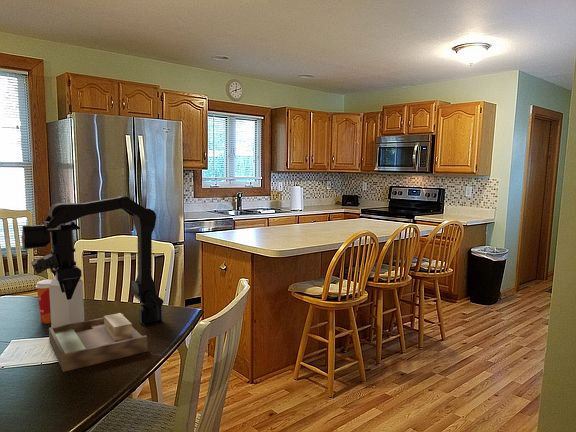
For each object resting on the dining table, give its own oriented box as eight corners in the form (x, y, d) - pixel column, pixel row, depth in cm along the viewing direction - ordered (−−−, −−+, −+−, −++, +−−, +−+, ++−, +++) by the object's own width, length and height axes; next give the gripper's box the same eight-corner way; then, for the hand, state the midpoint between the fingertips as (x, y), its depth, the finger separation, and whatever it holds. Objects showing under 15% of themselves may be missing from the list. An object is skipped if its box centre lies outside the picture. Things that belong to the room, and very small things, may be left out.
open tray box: (123, 326, 143) (123, 313, 143) (147, 351, 124) (147, 336, 123) (49, 342, 130) (48, 327, 130) (63, 371, 111) (62, 355, 110)
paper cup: (44, 317, 152) (42, 278, 151) (66, 316, 153) (64, 278, 151) (33, 325, 144) (30, 284, 143) (56, 324, 145) (54, 284, 144)
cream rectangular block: (120, 325, 136) (120, 312, 136) (132, 336, 127) (131, 323, 126) (104, 328, 134) (103, 315, 133) (114, 340, 124) (114, 327, 124)
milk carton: (70, 331, 139) (67, 274, 137) (51, 329, 140) (48, 273, 138) (84, 323, 146) (82, 269, 144) (66, 322, 147) (63, 268, 145)
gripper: (28, 243, 131) (32, 293, 133) (35, 253, 116) (39, 309, 118) (68, 240, 137) (71, 287, 139) (80, 248, 122) (83, 301, 124)
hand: (66, 295), depth 130 cm, fingers open, 9 cm apart
